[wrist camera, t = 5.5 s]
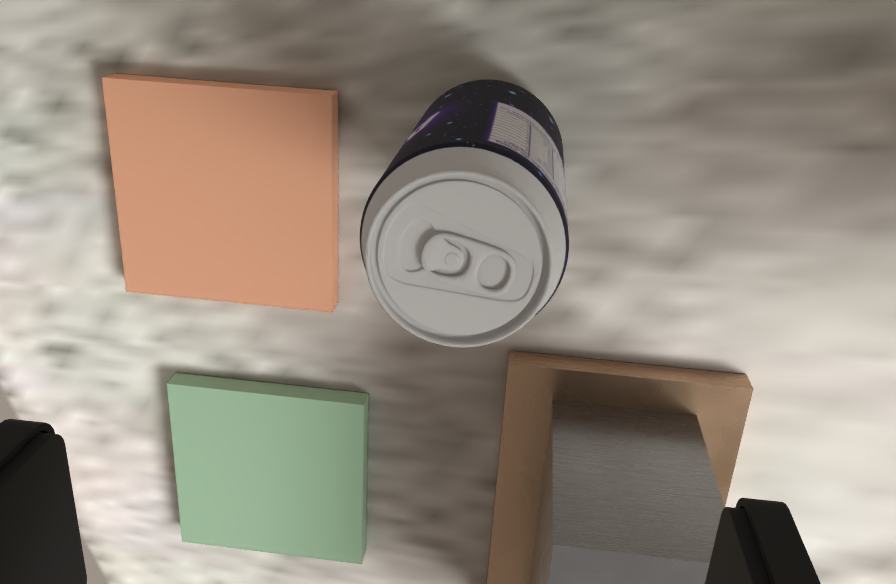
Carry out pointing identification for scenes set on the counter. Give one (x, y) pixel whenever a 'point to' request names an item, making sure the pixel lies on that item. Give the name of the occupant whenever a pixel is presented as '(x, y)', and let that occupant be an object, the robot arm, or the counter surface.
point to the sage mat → (270, 466)
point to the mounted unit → (612, 470)
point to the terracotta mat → (226, 189)
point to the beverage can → (470, 218)
